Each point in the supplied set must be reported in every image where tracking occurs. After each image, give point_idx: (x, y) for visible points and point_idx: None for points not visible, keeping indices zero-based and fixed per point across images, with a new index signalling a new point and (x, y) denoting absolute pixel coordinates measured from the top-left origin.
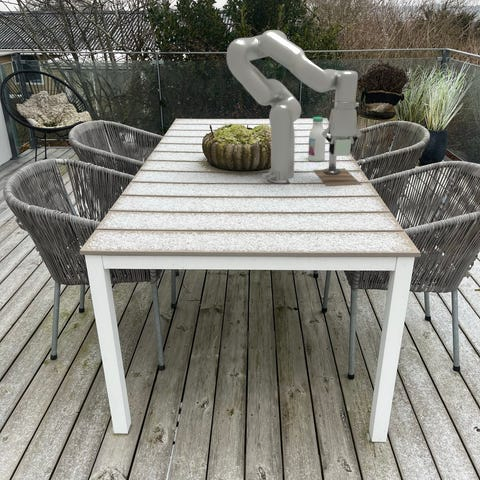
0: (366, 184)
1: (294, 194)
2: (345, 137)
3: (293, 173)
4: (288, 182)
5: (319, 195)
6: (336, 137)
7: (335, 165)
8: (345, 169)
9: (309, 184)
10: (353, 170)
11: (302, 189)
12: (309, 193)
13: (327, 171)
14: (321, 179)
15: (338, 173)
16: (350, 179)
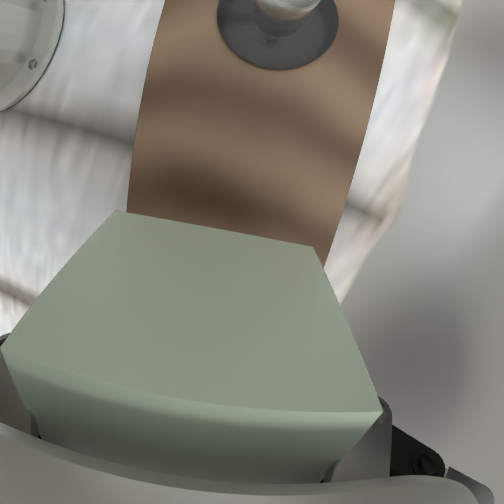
0: (366, 250)
1: (8, 264)
2: (299, 453)
3: (12, 59)
4: (2, 110)
5: None
6: (95, 417)
7: (298, 25)
8: (392, 5)
9: (80, 145)
10: (442, 3)
11: (36, 215)
12: (55, 275)
13: (231, 29)
14: (138, 141)
15: (301, 66)
16: (308, 205)
